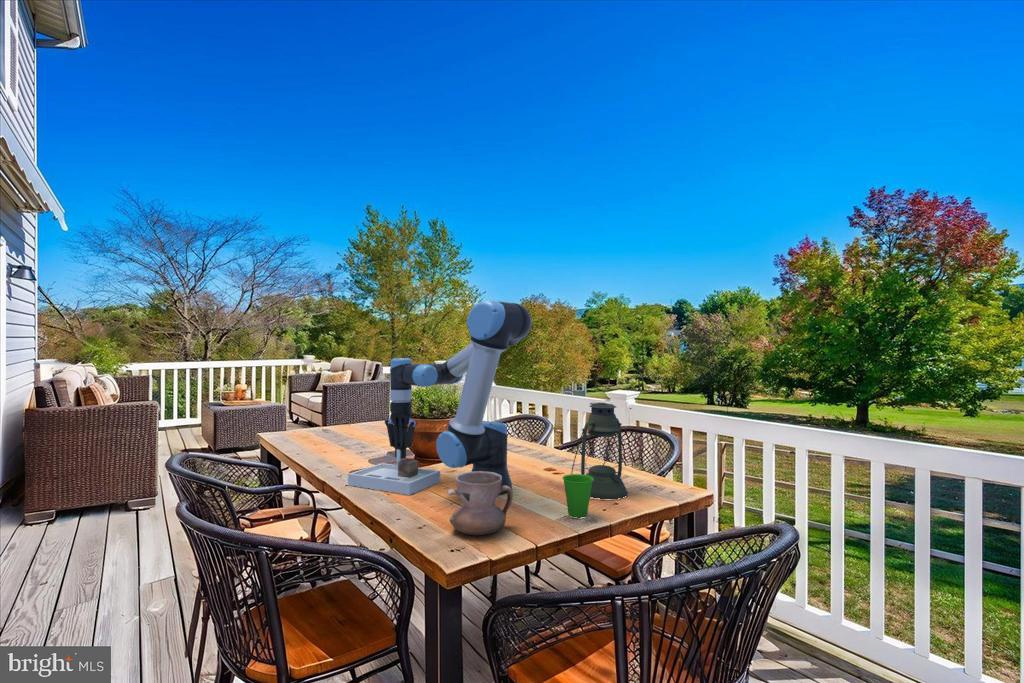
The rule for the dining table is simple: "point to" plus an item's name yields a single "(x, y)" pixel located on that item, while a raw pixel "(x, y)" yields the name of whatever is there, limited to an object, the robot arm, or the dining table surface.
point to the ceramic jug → (479, 503)
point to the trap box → (393, 479)
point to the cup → (577, 493)
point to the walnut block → (408, 468)
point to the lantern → (604, 476)
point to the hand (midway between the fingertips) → (400, 467)
